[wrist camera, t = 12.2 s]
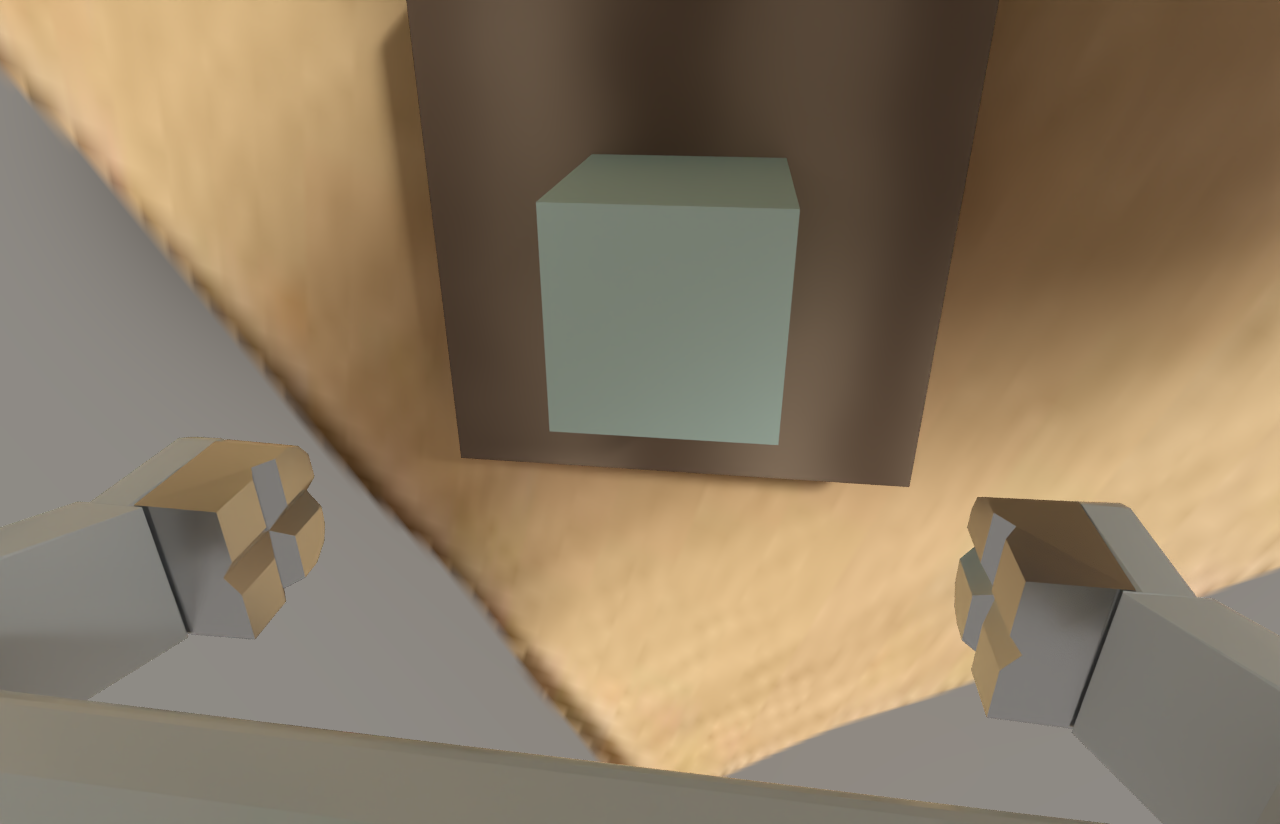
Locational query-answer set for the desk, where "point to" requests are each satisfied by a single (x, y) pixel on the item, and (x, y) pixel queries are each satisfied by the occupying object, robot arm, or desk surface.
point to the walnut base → (721, 127)
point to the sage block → (668, 296)
